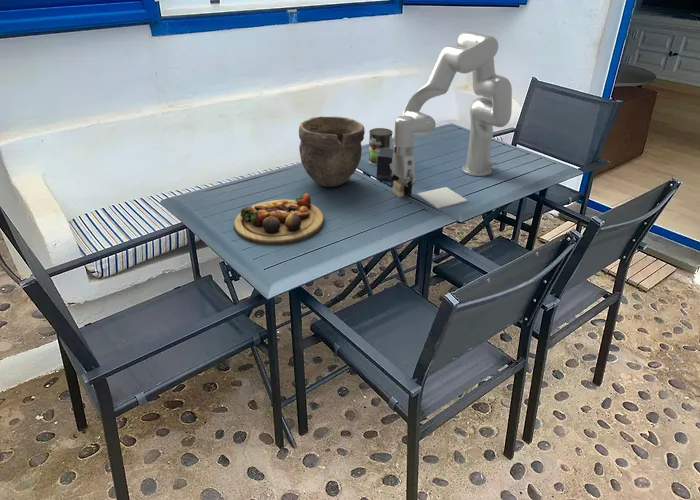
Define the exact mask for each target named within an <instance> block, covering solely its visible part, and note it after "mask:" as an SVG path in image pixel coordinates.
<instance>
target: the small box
mask: <svg viewBox="0 0 700 500" xmlns="http://www.w3.org/2000/svg"><path fill="white" fill-rule="evenodd" d="M393 152H394V148H391V149H388V148H381V150H380V152H379V154H378V156H377V165H376V175H375V176H376V178H375V179H376V180H383V181H384V180H385V181H391V179H392V177H391V171H390V164H391V163H392V158H393Z"/></svg>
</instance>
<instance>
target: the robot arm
mask: <svg viewBox="0 0 700 500" xmlns="http://www.w3.org/2000/svg"><path fill="white" fill-rule="evenodd" d="M456 45H457V46H455V45H447V46H444V47H443V48H442V49H441V51H440V52H439V54H438V56H437V59H436V60H435V64H434V66H433V68H432V70H431V72H430V73H429V74H430V75H429V76H428V79H427V80H426V82H425V84H424V85H422V86H421V87H419V89H418V90H416V91H415V92H414V93H413V94H412V95H411V97H410V98H409V99H408V101H407V103H406V105H405V106H404V109H403V112H402V115H400V116H397V117H396V118H395V120H394V121H395V122H394V132H393V133H394V137H393V149H394V152H393V158H392V163H391V164H390V171H391V180H390V181H391V182H390V186H391V187H392V188H393V181H396V180H401V179H402V180H404V182H405V186H404V195H405V196H404V197H406V196H409V195H412V190H413V186H414V184H415V181H416V177H415V156H414V155H415V154H414V146H415V136H427V135H430V134H432V133H433V132H434V131H435V128H436V125H437V124H436V120H435V119H434V117H432V116H431V115H429V114H426V113H423V112H420V111H421V109H422V108H423V105H425V104H426V102H427V101H429V100H431V99H433V98H435V97H436V98H437V97H439V96H442V95H445V94H447V92H448V91H449V90H450V87H451V85H452V82H453V80H454V79H455V76H456V74H457V73H460V74H469V73H472V88H473V92H474V94H475V95H476V96H477V98H476V99H475V100H473V101H472V103H471V105H470V109H469V114H470V115H469V116H470V127H469V128H470V129H469V137H468V138H469V139H468V148H467V154H466V163H465V164H463V165H462V168H461V171H462V172H463V174H466V175H469V176H472V177H473V176H474V177H485V176H489V175H490V174H491V173H492V168H491V167H492V166H495V165H497V164H498V160H497V159H495V160H492V159H490V158H491V151H492V144H493V143H492V142H493V137H494V128H493V127H496V128H504V127H505V126H506V125H508V124H509V122H510V120H511V116H512V113H513V112H512V110H513V109H512V108H513V107H512V106H513V100H512V99H513V88H512V84H511V82H510V80H509V79H508V77H505V76H502V75H499V74H497V73H496V70H495V60H494V58H495V56H496V54H497V53H498V50H499V42H498V40H497V38H496V37H494V36H492V35H488V34H483V33H478V32H475V31H474V32H473V31H463V32H460V34H459V35H458V36H457V39H456ZM407 181H408V183H407Z"/></svg>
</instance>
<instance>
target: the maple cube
mask: <svg viewBox="0 0 700 500" xmlns="http://www.w3.org/2000/svg"><path fill="white" fill-rule="evenodd" d="M408 182H409V180H407V183H408ZM404 186H405V182H404V180H402V179H401V178H400V179H399V180H396V181H393V187H392V193H393V194H394V195H396V196H397V197H398V198H403V197H406V196H405V195H404Z"/></svg>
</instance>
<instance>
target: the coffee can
mask: <svg viewBox="0 0 700 500" xmlns="http://www.w3.org/2000/svg"><path fill="white" fill-rule="evenodd" d="M368 132H369V140H368V141H369V143H368V146H369V147H368V163H369V164H371V165H373V166H377V156H378V154H379V152H380V150H381V148H388V149H393V147H392V145H393V133H394V131H392V130H391V129H389V128H384V127H376V128H371V129H370V130H369V131H368Z"/></svg>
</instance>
